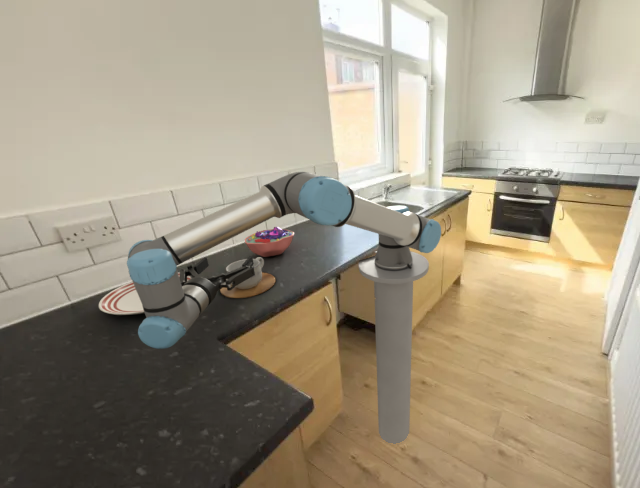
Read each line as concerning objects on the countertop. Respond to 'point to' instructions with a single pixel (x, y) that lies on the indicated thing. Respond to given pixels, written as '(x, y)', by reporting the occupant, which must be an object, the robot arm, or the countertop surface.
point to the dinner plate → (123, 301)
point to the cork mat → (261, 287)
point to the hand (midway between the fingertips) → (229, 260)
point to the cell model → (269, 241)
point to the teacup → (254, 279)
